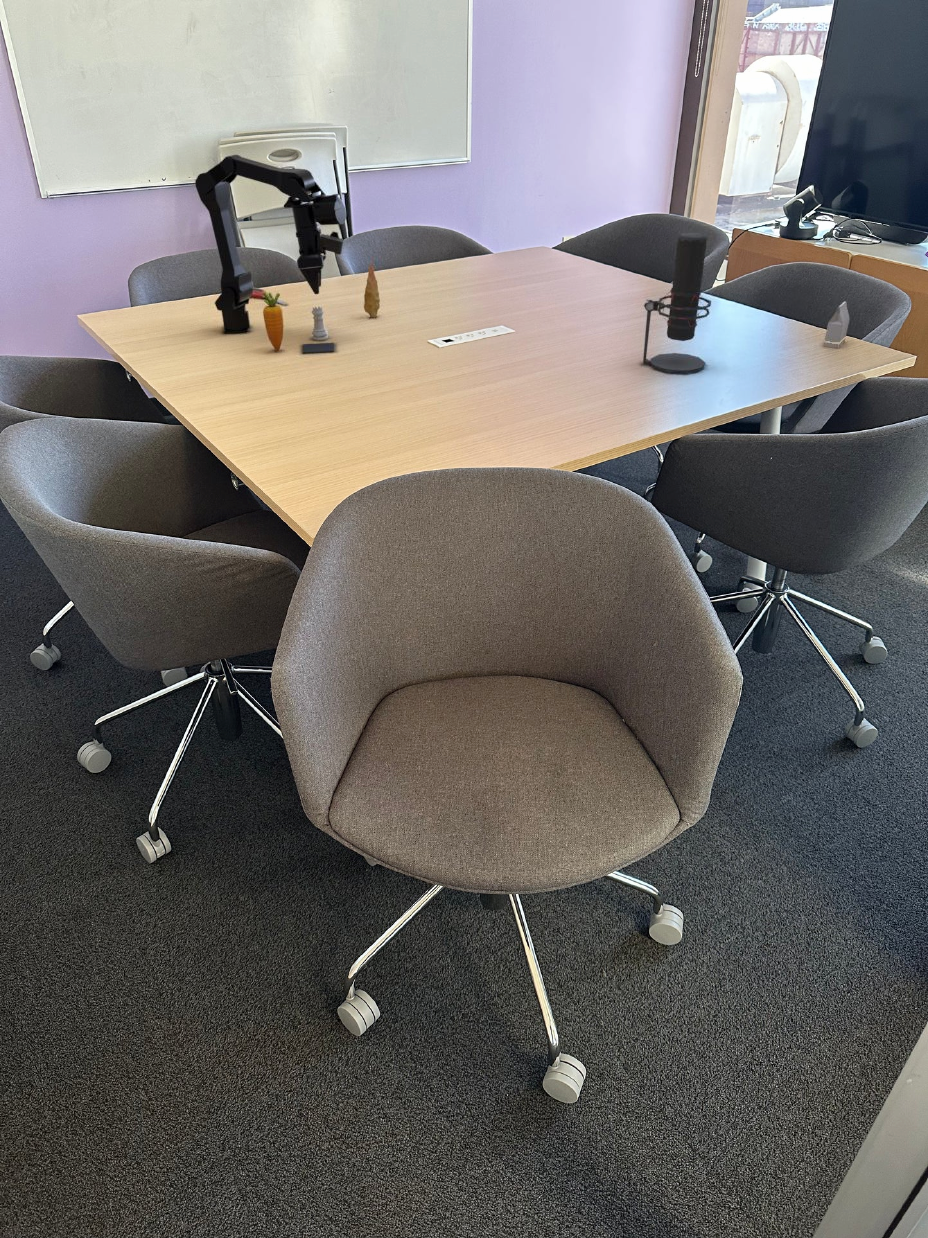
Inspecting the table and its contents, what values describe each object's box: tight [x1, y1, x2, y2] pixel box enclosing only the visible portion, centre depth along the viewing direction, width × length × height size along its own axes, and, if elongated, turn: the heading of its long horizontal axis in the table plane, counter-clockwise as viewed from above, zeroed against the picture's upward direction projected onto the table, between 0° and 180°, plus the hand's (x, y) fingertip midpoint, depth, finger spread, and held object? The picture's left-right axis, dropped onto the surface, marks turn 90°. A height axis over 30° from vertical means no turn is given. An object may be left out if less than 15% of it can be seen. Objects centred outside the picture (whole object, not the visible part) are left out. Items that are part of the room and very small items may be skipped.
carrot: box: [262, 290, 284, 352], centre depth 229 cm, size 5×5×15 cm
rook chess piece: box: [311, 306, 329, 342], centre depth 240 cm, size 4×4×8 cm
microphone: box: [642, 232, 712, 375], centre depth 212 cm, size 14×13×30 cm
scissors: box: [250, 287, 287, 306], centre depth 277 cm, size 8×21×2 cm, turn 58°
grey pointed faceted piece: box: [823, 301, 851, 349], centre depth 230 cm, size 4×7×10 cm, turn 147°
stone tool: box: [363, 262, 381, 319], centre depth 254 cm, size 5×2×15 cm, turn 141°
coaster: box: [302, 342, 335, 355], centre depth 234 cm, size 8×7×1 cm
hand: (318, 290), depth 235 cm, fingers open, 9 cm apart
